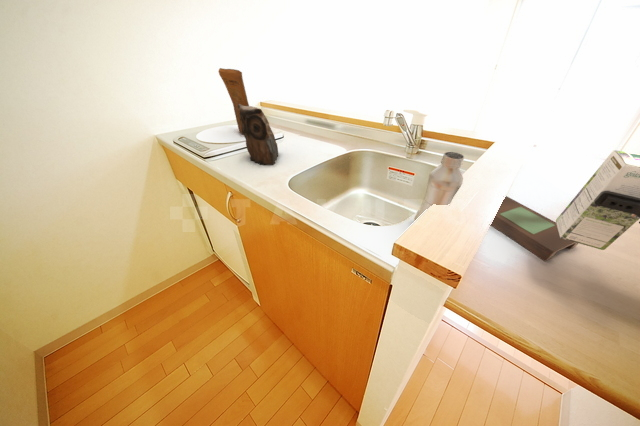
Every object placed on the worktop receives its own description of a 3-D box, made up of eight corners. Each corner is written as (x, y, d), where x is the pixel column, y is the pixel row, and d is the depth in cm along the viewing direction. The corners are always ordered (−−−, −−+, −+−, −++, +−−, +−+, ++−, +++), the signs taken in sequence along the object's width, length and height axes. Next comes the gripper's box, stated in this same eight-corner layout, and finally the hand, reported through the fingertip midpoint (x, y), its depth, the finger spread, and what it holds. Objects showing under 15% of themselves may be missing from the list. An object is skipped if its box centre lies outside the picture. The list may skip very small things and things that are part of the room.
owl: (275, 166, 85) (267, 109, 73) (242, 167, 85) (228, 110, 73) (279, 152, 95) (273, 100, 83) (249, 153, 95) (238, 101, 83)
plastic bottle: (416, 217, 61) (440, 146, 49) (442, 227, 58) (475, 153, 46) (408, 231, 57) (431, 156, 45) (436, 242, 54) (470, 165, 41)
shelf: (575, 246, 52) (584, 237, 51) (545, 261, 49) (554, 251, 47) (500, 204, 66) (506, 195, 64) (473, 213, 62) (477, 204, 60)
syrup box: (595, 231, 41) (670, 155, 32) (604, 252, 37) (692, 172, 28) (554, 220, 43) (613, 147, 35) (559, 239, 40) (626, 162, 31)
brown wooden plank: (248, 141, 105) (233, 71, 88) (232, 131, 117) (216, 66, 100) (261, 138, 109) (249, 69, 91) (244, 128, 120) (230, 65, 103)
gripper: (786, 180, 30) (605, 150, 38) (887, 243, 21) (623, 186, 29) (724, 223, 34) (575, 188, 43) (785, 290, 26) (582, 229, 34)
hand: (595, 187), depth 36 cm, fingers closed on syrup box, 6 cm apart
